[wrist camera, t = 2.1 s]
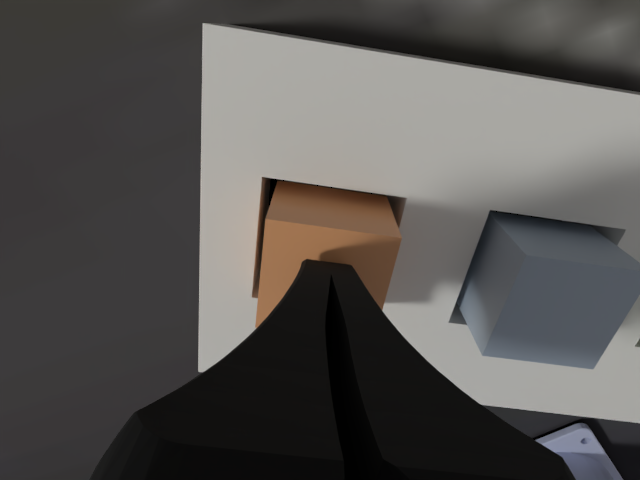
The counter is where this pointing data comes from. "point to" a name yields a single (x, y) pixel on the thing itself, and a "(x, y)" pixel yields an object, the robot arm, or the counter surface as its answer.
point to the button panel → (416, 190)
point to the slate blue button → (546, 291)
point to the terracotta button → (326, 239)
